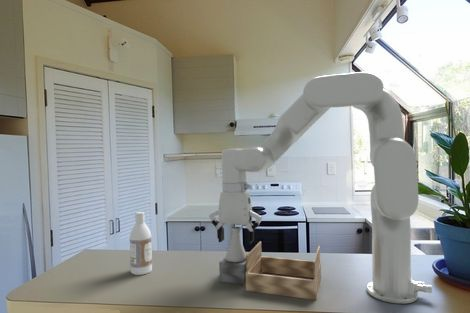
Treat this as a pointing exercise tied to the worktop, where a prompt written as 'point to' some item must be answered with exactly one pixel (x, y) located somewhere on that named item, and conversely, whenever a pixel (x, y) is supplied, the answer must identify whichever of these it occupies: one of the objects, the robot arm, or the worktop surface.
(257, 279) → the wooden box
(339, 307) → the worktop surface
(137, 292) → the worktop surface
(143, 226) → the bath foam
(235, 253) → the flask
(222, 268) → the stand
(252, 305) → the worktop surface
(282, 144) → the robot arm
